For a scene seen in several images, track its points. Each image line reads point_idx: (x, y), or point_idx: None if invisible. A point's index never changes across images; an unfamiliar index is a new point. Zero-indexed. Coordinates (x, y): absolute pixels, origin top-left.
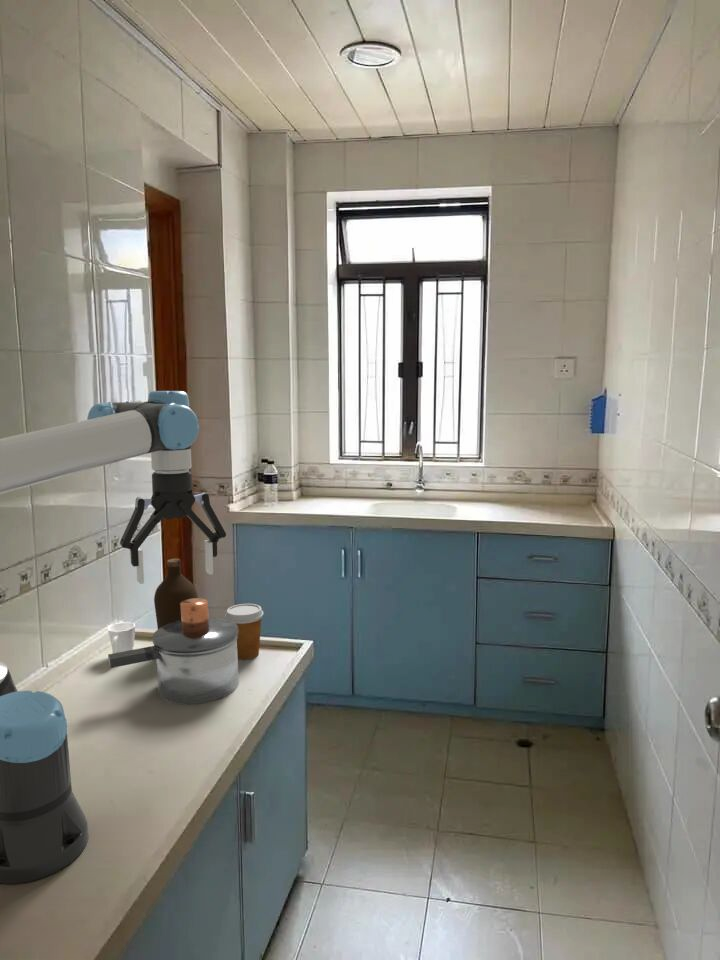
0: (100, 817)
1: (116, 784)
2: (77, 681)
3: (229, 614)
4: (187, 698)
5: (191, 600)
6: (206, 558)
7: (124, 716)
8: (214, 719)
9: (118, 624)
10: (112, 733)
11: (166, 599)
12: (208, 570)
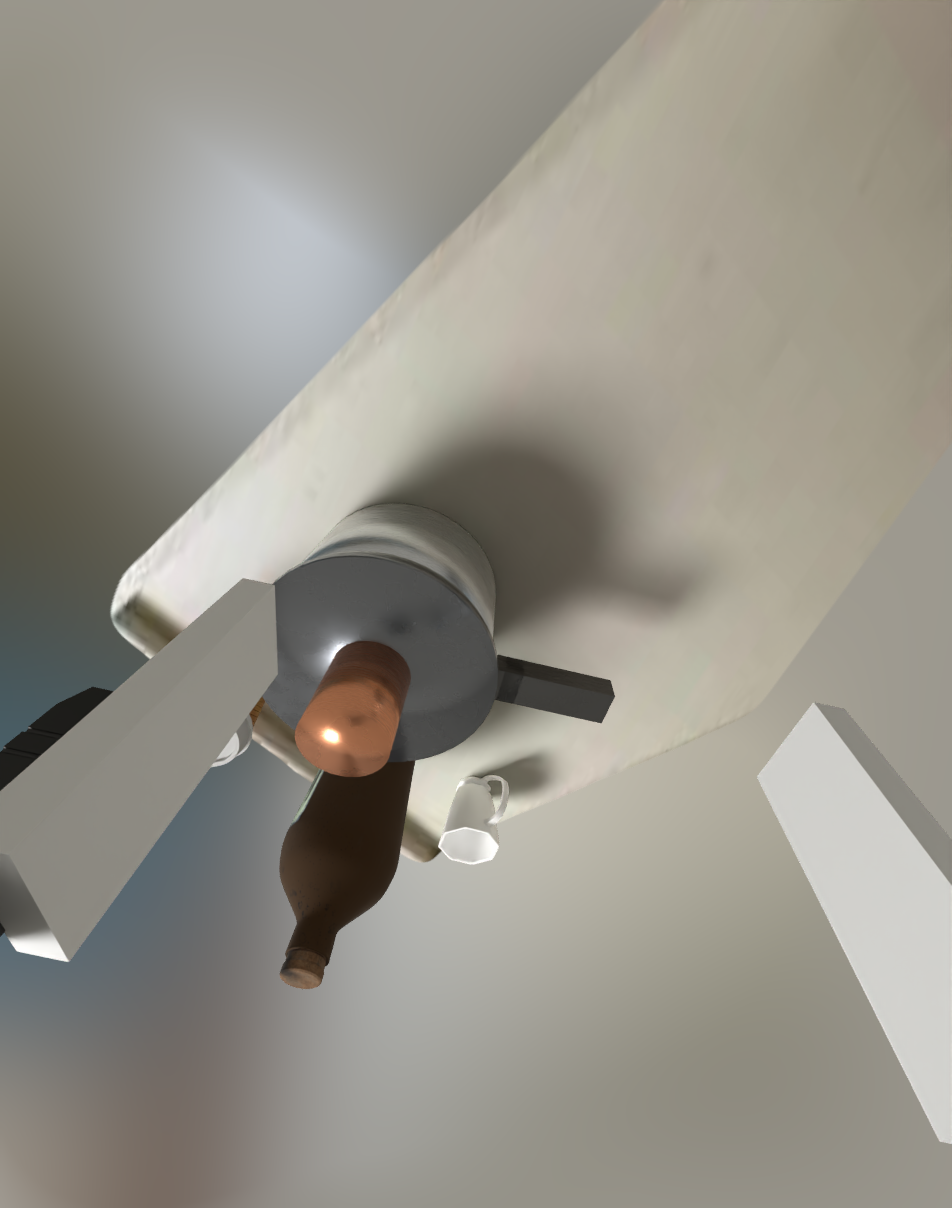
0: (940, 113)
1: (801, 268)
2: (588, 755)
3: (238, 732)
4: (464, 535)
5: (343, 762)
6: (209, 735)
7: (599, 573)
8: (450, 413)
9: (466, 859)
10: (659, 520)
11: (375, 849)
12: (261, 627)
